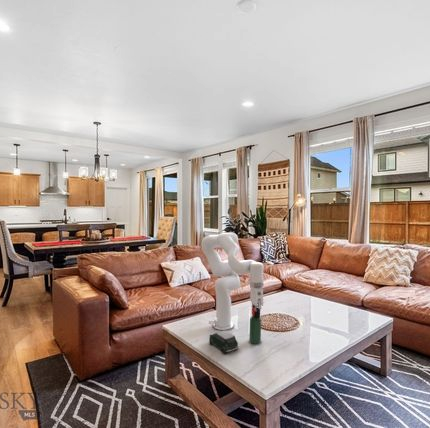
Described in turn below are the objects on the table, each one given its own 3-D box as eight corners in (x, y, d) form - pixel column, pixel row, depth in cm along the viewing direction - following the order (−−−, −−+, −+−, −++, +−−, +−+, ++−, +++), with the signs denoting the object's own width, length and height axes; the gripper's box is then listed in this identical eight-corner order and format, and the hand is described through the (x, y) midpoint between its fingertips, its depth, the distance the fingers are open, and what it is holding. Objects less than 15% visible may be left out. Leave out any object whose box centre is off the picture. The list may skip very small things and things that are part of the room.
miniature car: (220, 338, 173) (220, 324, 173) (240, 350, 159) (240, 335, 159) (207, 342, 167) (207, 328, 167) (226, 355, 153) (226, 340, 153)
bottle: (251, 343, 165) (252, 312, 164) (247, 338, 171) (248, 308, 170) (262, 342, 167) (263, 311, 166) (258, 337, 173) (259, 307, 172)
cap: (260, 316, 167) (260, 309, 166) (253, 316, 166) (253, 310, 165) (257, 313, 171) (258, 307, 170) (251, 313, 170) (251, 307, 169)
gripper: (268, 288, 160) (267, 321, 161) (257, 280, 176) (257, 310, 177) (255, 289, 158) (254, 322, 159) (245, 280, 174) (245, 311, 175)
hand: (255, 315), depth 168 cm, fingers closed on cap, 4 cm apart
